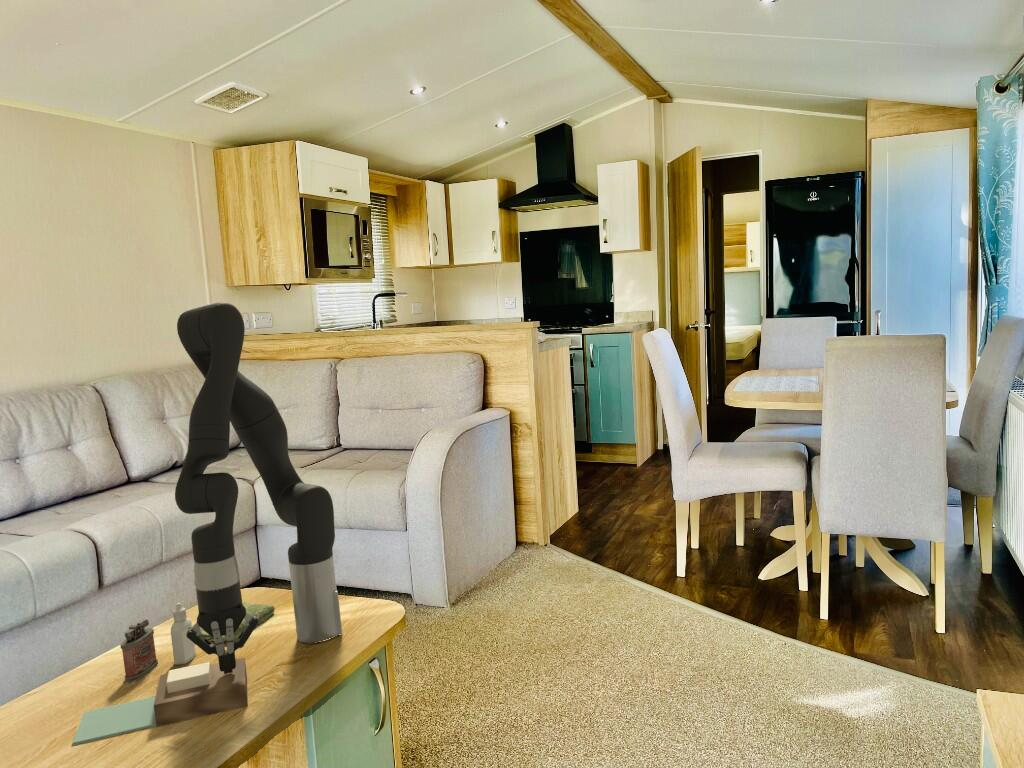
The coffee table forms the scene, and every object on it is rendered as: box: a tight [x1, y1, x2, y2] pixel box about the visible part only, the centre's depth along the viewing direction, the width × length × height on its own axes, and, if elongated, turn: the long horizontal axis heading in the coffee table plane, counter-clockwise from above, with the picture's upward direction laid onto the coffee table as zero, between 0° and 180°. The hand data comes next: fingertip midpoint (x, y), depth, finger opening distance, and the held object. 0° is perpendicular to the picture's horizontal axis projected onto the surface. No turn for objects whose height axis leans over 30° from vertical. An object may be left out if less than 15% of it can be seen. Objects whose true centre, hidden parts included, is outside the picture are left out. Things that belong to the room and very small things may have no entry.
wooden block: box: [154, 657, 249, 728], centre depth 140 cm, size 15×12×4 cm
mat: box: [71, 695, 156, 746], centre depth 136 cm, size 13×11×1 cm
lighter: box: [119, 618, 159, 683], centre depth 154 cm, size 8×3×10 cm, turn 168°
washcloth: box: [200, 601, 276, 643], centre depth 174 cm, size 13×18×3 cm
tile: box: [167, 661, 211, 693], centre depth 139 cm, size 7×5×2 cm
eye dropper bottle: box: [170, 602, 197, 666], centre depth 158 cm, size 4×6×12 cm
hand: (228, 671), depth 141 cm, fingers closed
